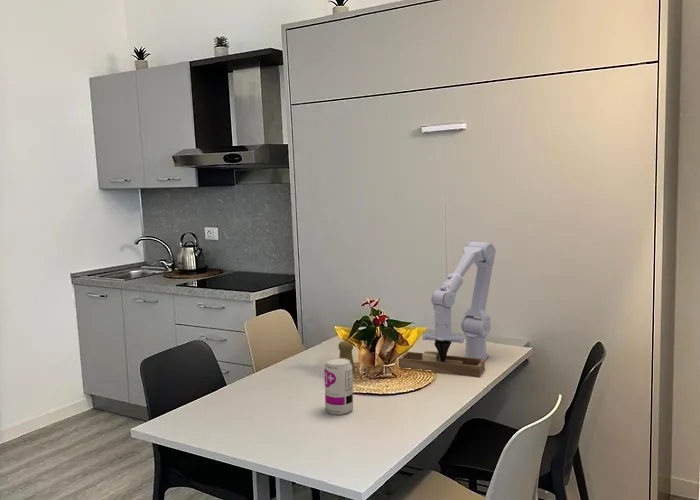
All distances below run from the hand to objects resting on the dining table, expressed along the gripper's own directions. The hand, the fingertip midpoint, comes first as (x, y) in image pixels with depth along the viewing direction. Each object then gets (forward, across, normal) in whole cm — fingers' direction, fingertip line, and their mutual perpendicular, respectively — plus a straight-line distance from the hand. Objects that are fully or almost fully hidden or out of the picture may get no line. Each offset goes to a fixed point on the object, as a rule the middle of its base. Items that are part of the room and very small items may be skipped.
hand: (443, 360), depth 222 cm
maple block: (0, -4, 0) cm, 4 cm away
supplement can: (+3, -19, -48) cm, 52 cm away
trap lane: (+3, -1, 0) cm, 3 cm away
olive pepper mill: (+3, -32, -14) cm, 35 cm away
